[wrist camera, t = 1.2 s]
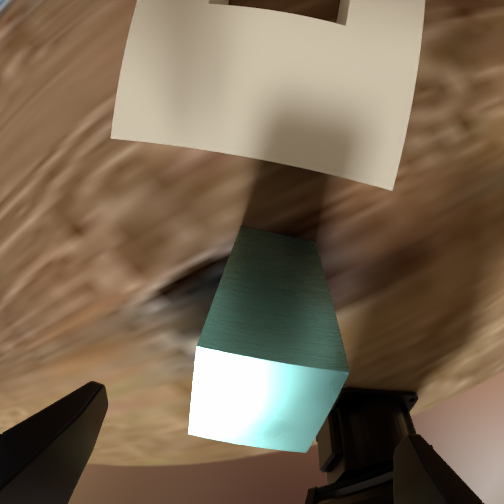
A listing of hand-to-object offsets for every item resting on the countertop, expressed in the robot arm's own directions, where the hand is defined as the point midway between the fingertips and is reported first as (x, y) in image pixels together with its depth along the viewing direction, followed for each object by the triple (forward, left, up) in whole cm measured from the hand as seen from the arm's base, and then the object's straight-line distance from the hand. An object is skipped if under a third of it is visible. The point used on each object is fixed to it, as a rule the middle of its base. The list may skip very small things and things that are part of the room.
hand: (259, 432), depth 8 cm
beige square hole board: (+2, -15, -11) cm, 19 cm away
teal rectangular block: (0, 0, -11) cm, 11 cm away
